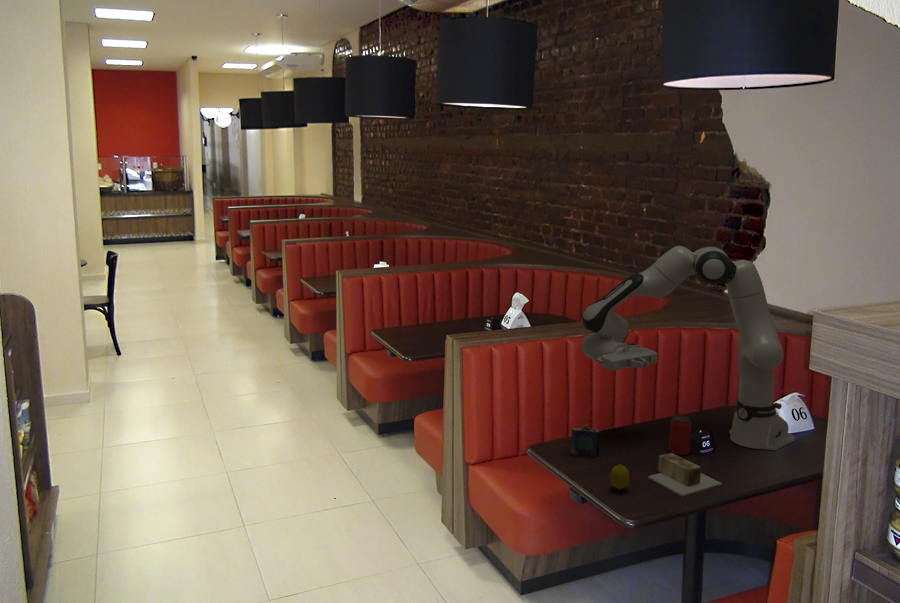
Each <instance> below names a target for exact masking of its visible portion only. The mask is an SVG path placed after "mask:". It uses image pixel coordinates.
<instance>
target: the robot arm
mask: <svg viewBox="0 0 900 603" xmlns="http://www.w3.org/2000/svg"><path fill="white" fill-rule="evenodd" d="M694 275H697V276H698V278H699V279H700V280H702V281H703V282H706V283H708V284H724V285H725V287H726V290H727V294H728V298H729V299H728V300H729V302H730V307H731V310H732V313H733V317H734V320H735V323H736V326H737V329H738V332H739V335H738V338H737V340H738V341H737V342H738V368H739V369H738V370H739V382H738V383H739V384H738V385H739V386H738V398H737V399H736V403H735V406H736V407H735V410H736V411H735V412H734V414H733V420H732V426H731V428H730V429H729V432H728V433H729V434H730V437H729V440H731V441H732V442H733V443H734V444H737V445H738V446H742V447H745V448H750V449H758V450H769V451H778V450H780V449H781V448H783V447H785V446H788V445H790V444H791V443H793V442H796V437H795V436H794V435H793V434H791V433H789V424H788V422H787V421H786V420H785V419H784V418H783V417H781V416H780V415H779V414H778V412H777V410H781V409H782V407H783V406H782V403H779V402H774V401H775V400H774V398H775V386H776V380H775V374H774V373H775V372H774V369H776V368H778V367H779V366H780V365H781V364H782V362H783V360H784V357H785V356H784V355H785V354H784V350H783V346H782V343H781V340H780V337H779V334H778V331H777V328H776V326H775V323H774V319H773V317H772V314H771V312H770V308H769V306H768V301H767V295H766V292H765V289H764V285H763V284H764V283H763V281H762V278H761V276H760V274H759V271H758V269H757V267H756V265H755V264H754V262H753V261H751V260H746V259H739V260H731V259H730V257H729V256H728V255H727V254H726V253H725V251H724V250H723V249H722V248H720V247H718V246H715V245H705V246H701V247H699V248H695V249H692V250H690V249H688V248H687V247H685V246H682V245H676V246H673V247H672V248H670V249H669V250H667V251H666V252H665V253H664V254H662V255H661V256H660V257H659V258H658V259H657V260H656V261H655V262H653V263H652V264H651V265H650V267H647V269H645V270H643V271H640V272H639V273H634V274H633V273H632V274H631V275H630V276H628V277H626V278H625V279H624V280H622V281H621V282H620V283H619V284H617V285H616V286H615V287H613V288H612V289H611V290H610V291H608V292H607V293H606V294H604V295H603V296H602V297H600V298H599V299H598V300H596V301H594V302H592V303H590V304H589V305H588V306H586V307H585V308H584V310H583V312H582V316H581V320H582V325H583V328H584V329H585V330H587V331H589V332H592V333H591V334H588V335H585V336H584V338H583V339H582V341H581V349H582V352H583V354H584V355H585V356H586V357H587V358H589V359H591V360H593V361H595V362H596V363H600V366H601V367H603V369H604V368H605V369H606V370H608V371H617V370H618V371H619V370H624V369H630V368H639V369H646V368H649V366H650V365H652V364H653V365H654V364H656V363H657V362H658V352H656V351H655V350H653V349H651V348H647V347H644V346H640V344H639V343H630V342H629V343H626V341H627V339H628V336H629V333H630V324H629V322H628V320H627V319H625V318H624V317H622V316H621V315H619V314H618V313H616V312H614V310H615V309H616V308H618V307H619V306H620V305H621V304H624V302H625V301H626V300H628V299H630V298H632V297H635V296H636V297H637V296H642V297H643V296H644V297H649V298H654V299H655V298H664V297H666V296H668V295H670V294H671V293H672V292H673V291H675V289H677V287H678V286H680V285H681V283H682V282H683V281H684V280H685V279H686V278H689V277H690V276H694Z"/></svg>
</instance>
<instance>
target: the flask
mask: <svg viewBox="0 0 900 603" xmlns="http://www.w3.org/2000/svg"><path fill="white" fill-rule="evenodd" d="M600 440H601V431H600V430H599V429H596V428H594V427H592V428H591V427H590V426H588V423H584V424H583V428H582V427H573V428H572V429H571V441H570V443H571V444H570V446H571V448H570V454H571V456H574V457H575V456H577V457H590V458H600V448H601V446H600Z"/></svg>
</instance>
